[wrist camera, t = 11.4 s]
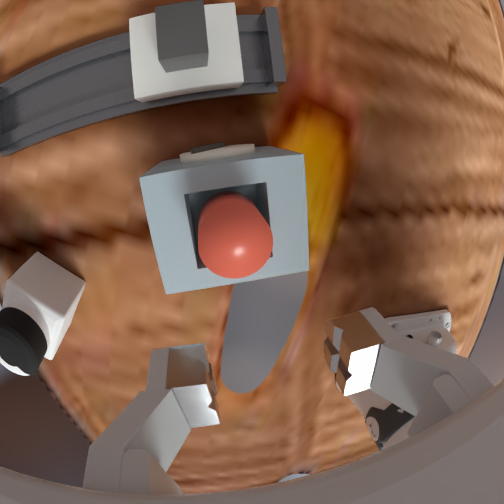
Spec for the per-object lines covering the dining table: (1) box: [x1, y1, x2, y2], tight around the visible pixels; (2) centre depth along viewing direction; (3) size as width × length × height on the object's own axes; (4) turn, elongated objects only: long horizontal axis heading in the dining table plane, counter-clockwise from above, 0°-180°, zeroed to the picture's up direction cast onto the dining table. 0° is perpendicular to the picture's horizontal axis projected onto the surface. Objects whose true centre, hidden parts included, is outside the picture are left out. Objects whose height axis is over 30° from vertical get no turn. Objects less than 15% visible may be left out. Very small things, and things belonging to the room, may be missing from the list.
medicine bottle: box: [0, 252, 86, 376], centre depth 23 cm, size 7×7×12 cm
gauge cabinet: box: [139, 142, 309, 294], centre depth 23 cm, size 10×9×10 cm
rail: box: [0, 7, 287, 157], centre depth 19 cm, size 28×8×4 cm, turn 96°
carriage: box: [129, 0, 244, 102], centre depth 16 cm, size 8×7×7 cm
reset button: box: [198, 191, 273, 278], centre depth 18 cm, size 4×4×4 cm
